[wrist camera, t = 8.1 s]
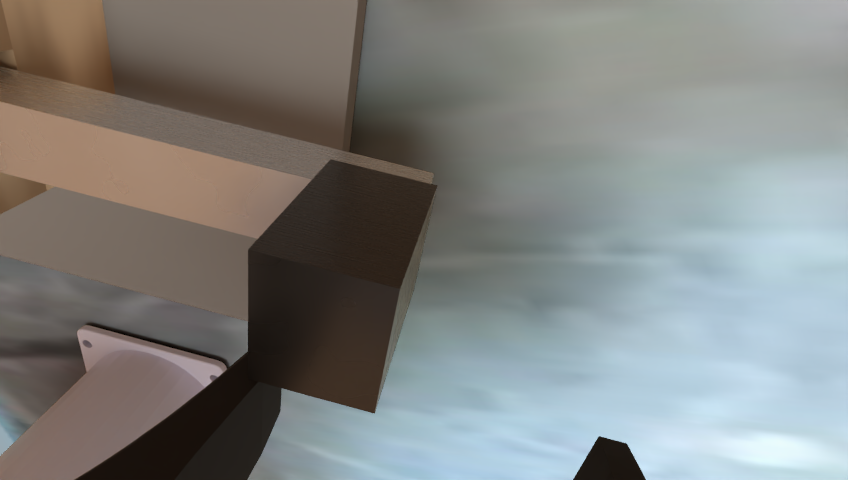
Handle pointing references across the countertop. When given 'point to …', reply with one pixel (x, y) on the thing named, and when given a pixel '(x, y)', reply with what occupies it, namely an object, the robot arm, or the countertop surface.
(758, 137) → the countertop surface
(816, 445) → the countertop surface
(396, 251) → the shaft
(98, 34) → the bearing block
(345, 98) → the mounting plate
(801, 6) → the countertop surface
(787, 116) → the countertop surface
